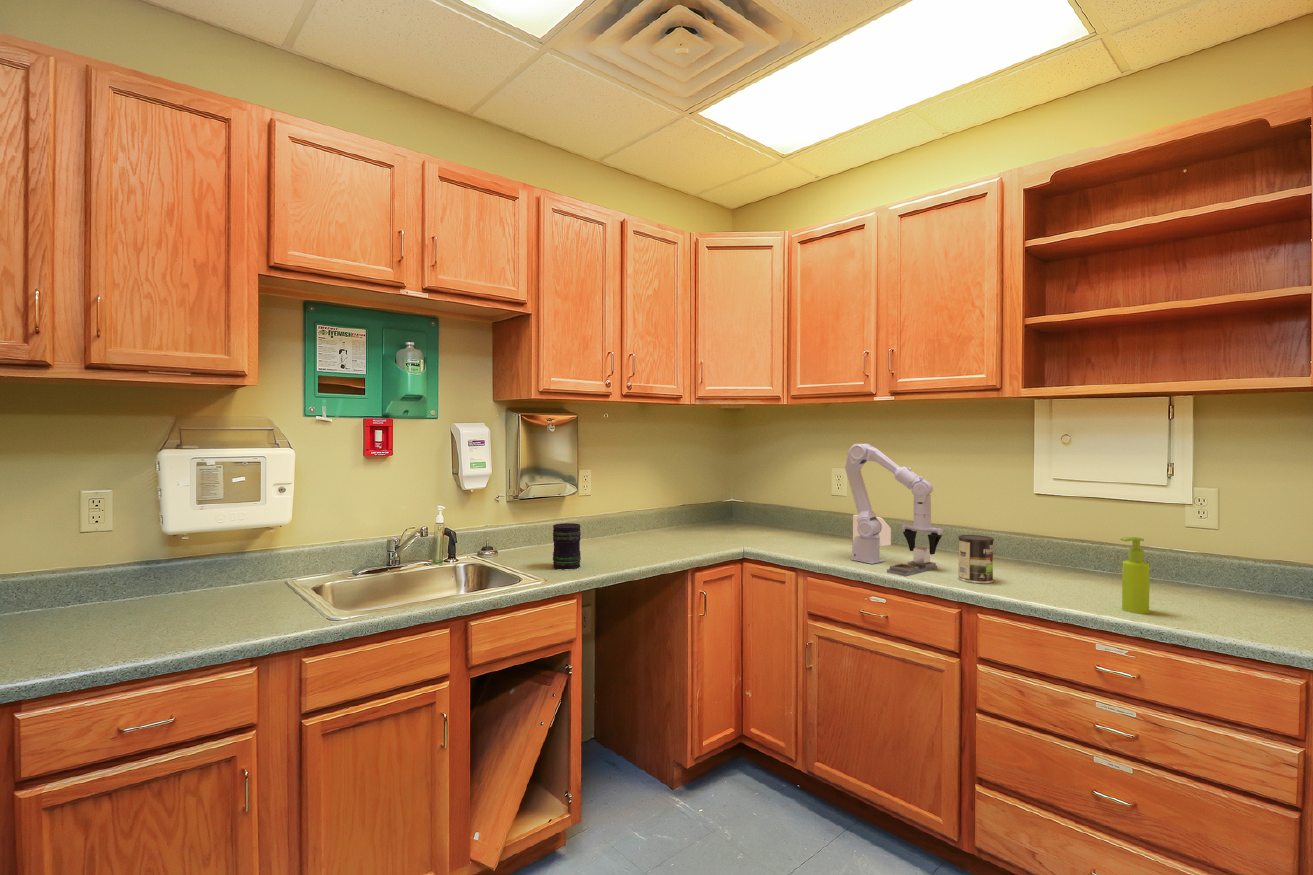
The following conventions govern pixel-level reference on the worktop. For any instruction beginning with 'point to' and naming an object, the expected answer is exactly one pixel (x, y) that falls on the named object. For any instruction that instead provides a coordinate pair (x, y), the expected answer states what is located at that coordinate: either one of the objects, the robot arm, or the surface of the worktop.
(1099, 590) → the worktop surface
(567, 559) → the storage jar
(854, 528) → the corner bracket
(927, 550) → the block
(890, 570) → the rail
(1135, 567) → the soap dispenser
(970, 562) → the coffee can
